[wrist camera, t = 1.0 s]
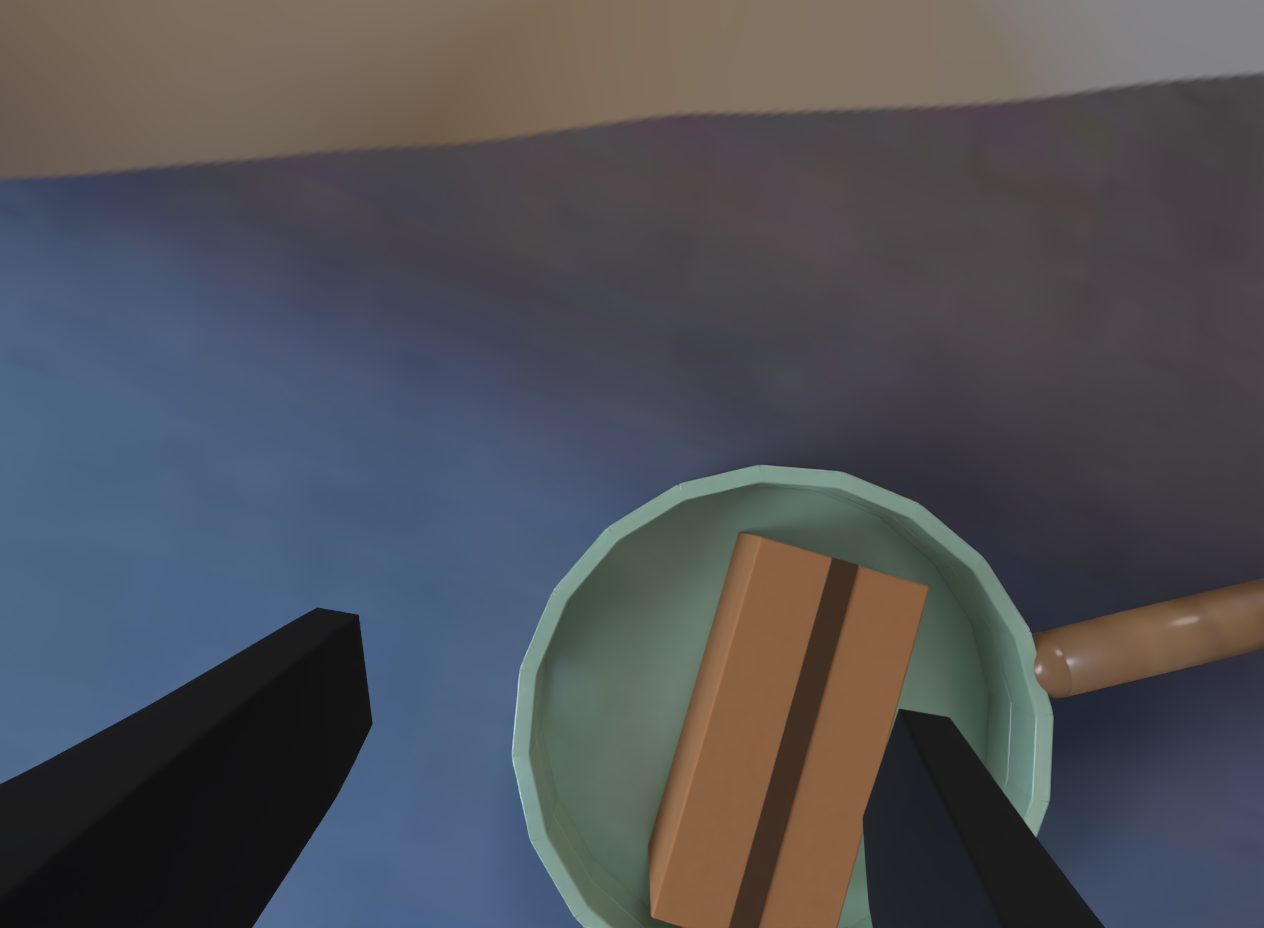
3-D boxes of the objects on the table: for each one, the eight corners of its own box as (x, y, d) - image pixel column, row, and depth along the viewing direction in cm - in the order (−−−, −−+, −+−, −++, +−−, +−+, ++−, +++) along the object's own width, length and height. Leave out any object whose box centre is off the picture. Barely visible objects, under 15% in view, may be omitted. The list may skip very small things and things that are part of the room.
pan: (1048, 882, 21) (1116, 944, 18) (588, 995, 21) (581, 1076, 18) (927, 426, 22) (973, 413, 19) (485, 530, 22) (462, 535, 19)
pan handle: (1009, 695, 20) (1046, 713, 18) (993, 634, 20) (1028, 646, 18) (1345, 613, 20) (1414, 623, 18) (1327, 553, 20) (1395, 558, 18)
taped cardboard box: (792, 892, 21) (827, 974, 17) (647, 847, 21) (650, 919, 17) (880, 573, 21) (931, 586, 18) (738, 530, 21) (760, 535, 18)
